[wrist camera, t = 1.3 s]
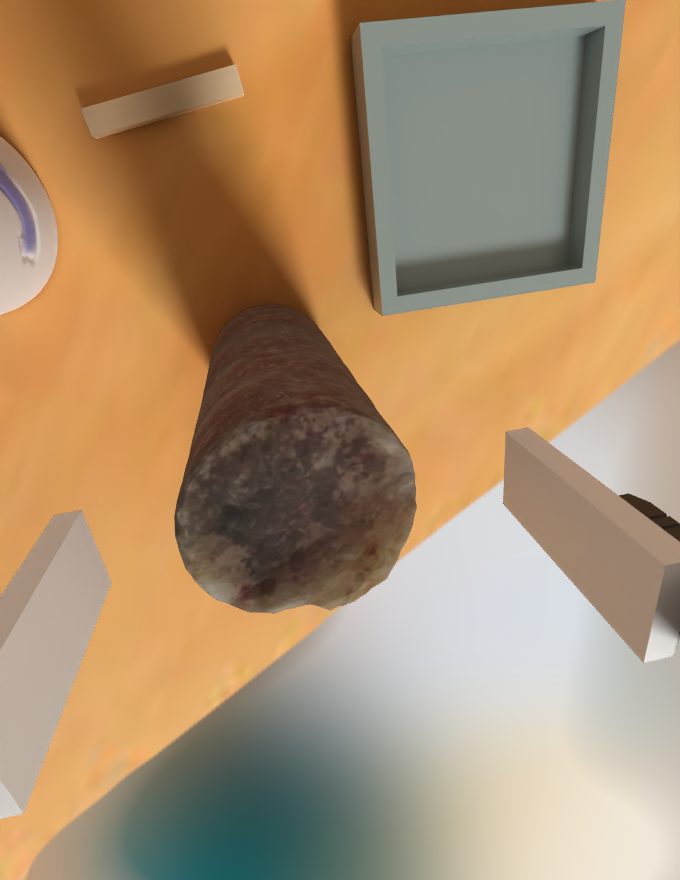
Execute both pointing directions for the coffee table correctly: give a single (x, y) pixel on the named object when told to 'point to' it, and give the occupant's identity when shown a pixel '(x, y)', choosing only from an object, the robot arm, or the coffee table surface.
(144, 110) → the beige wooden bar
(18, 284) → the container
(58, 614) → the robot arm
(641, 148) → the coffee table surface
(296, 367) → the dark brown cylinder
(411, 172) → the dish
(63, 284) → the coffee table surface
